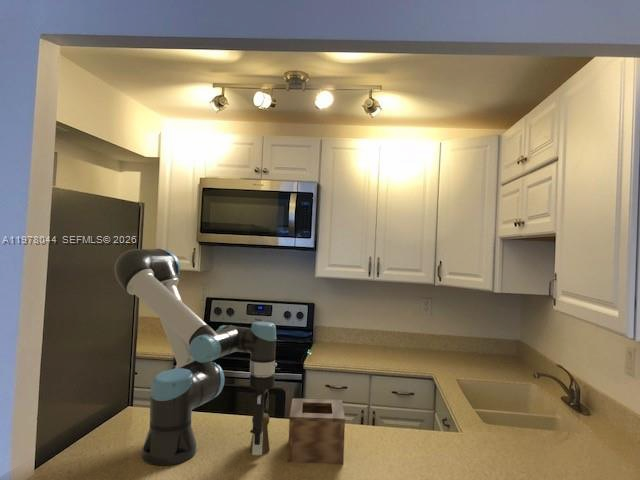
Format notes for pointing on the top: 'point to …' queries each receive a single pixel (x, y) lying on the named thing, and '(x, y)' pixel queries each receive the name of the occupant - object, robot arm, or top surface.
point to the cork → (265, 435)
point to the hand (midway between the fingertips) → (260, 444)
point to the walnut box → (316, 431)
